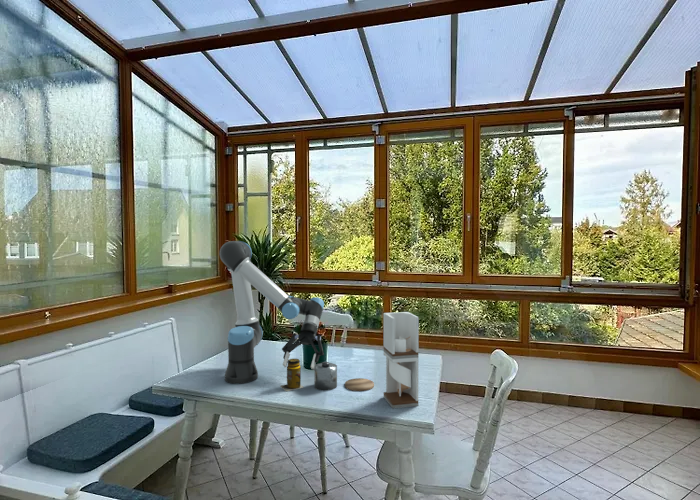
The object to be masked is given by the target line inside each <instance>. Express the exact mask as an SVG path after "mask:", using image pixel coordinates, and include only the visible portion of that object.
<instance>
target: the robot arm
mask: <svg viewBox="0 0 700 500" xmlns="http://www.w3.org/2000/svg"><path fill="white" fill-rule="evenodd" d="M252 255H253V252H252V248H251V246H250V245H249V244H248V243H246V242H244V241H241V240H233V241H232V240H231V241H226V242H225V243H224V244H223V245H222V246H220V249H219V258H220V260H221V262H222V263H223V264H224V265H225V266H226V268H227V270H228V271H229V272H230V273H231V281H232V286H233V287H232V288H233V294H234V302H235V310H236V317H237V320H236V322H235V323H234V325H235V327H233V328H230V330H229V331H228V334H227V348H228V349H227V351H228V352H227V353H228V354H227V355H228V356H227V357H228V358H227V359H228V362H227V363H228V364H227V366H226V369H225V373H224V381H225V382H226V383H228V384H234V383H239V384H246V383H251V382H253V381H256V380H257V379H258V378H259V371H258V368H257V366H256V362H255V347H257V346H258V345H259V344H260V342H261V341H262V338H263V336H264V335H263V328H262V327H261V325H260V321H259V319H258V318H257V317H256V314H255V306H254V300H253V299H254V298H253V292H252V287H253V288H255V289H256V290H257V292H259V293H260V294H261V295H263V297H264V298H266V299H267V300H268V301H269V302H270V303H272V305H274V306H275V307H276V308H277V309H279V311H280V312H281V314H282V316H283V317H284V318H285V319H288V320H293V319H295V318H296V317H298V315H301V316H302V315H303V316H304V319H303V322H302V324H301V325H302V326H301V329H300V333H299V334H296V332H295V333H293V334H292V336H291V338H290V339H288V341H286V343H285V344H284V346H283V347H282V348H281V350H282V352H283V353H284V354H283V358H282V359H284V360H283V361H282V366H283V367H284V368H287V366H288V360H289V359H290V356H291V354H290V353H291V352H293V351H294V350H295V349H296V348H297V347H299V346H301V345H303V346H304V345H307V346H309V345H311V347H312V349H313V350H314V352H315V353H314V354H313V357H312V361H311V364H310V368H311V370H312V371H314V366H315V365H316V363H319V359H320V357H321V356H322V357H324V355H325V353H324V349H323V344H322V337H321V336H322V335H320V334H318V335H317V333H318V328H319V325H320V321H321V317H322V315H323V311H324V306H325V301H324V300H323V299H322V298H320V297H316V296H315V297H311V298H310V299H303V298H299V297H296V296H293V295H292V296H291V295H288V294H287V293H286V292H285V291H284V290H282V288H280V287H279V286H278V284H276V283H275V282H274V281H273V280H272V279H270V277H268V276H267V275H266V274H265V273H264V272H263V271H262V270H261V269H259V268H258V267H257V266H256V265H255V264H253V262H252V260H251V258H252ZM315 340H316V342H317V344H318V348H319V351H318V349H317V346H316V345H315V343H314V341H315Z"/></svg>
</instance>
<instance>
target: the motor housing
mask: <svg viewBox="0 0 700 500" xmlns="http://www.w3.org/2000/svg"><path fill="white" fill-rule="evenodd" d="M313 372H314V384H313V385H314V389H316V390H318V391H323V392H324V391H327V392H328V391H333V390H334V389H337V387H338V365H337V364H336V363H333V362H329V361H323V362H320V363H319V362H318V363H317V364H315V366H314V370H313Z"/></svg>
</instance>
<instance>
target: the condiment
mask: <svg viewBox="0 0 700 500" xmlns="http://www.w3.org/2000/svg"><path fill="white" fill-rule="evenodd" d="M300 362H301V361H300V359H299V358H289V360H288V363H287V366H286V384H282V385H279V386H280V388H282V389H283V390H284V391H285V392H290V391H294V390H299V389H304V387H305V386H303V385H302V383H301V382H302V380H301V377H302V376H301V375H302V374H301V373H302V372H301V364H300Z"/></svg>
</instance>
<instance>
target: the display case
mask: <svg viewBox="0 0 700 500" xmlns="http://www.w3.org/2000/svg"><path fill="white" fill-rule="evenodd" d="M419 321H420V320H419V316H417V315H415V314H413V313H411V312H409V311H401V312H399V311H398V312H396V311H395V312H383V356H385V365H386V366H385V378H386V379H385V380H386V381H385V384H386V386H385V390H386V391H385V392H384V391H383V399H385V401H386V402H387V403H388V405H390V407H391V409H401V408H410V407H418V406H419V352H420V351H419V340H420V339H419V332H420V331H419V328H420V327H419V326H420V325H419Z"/></svg>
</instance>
